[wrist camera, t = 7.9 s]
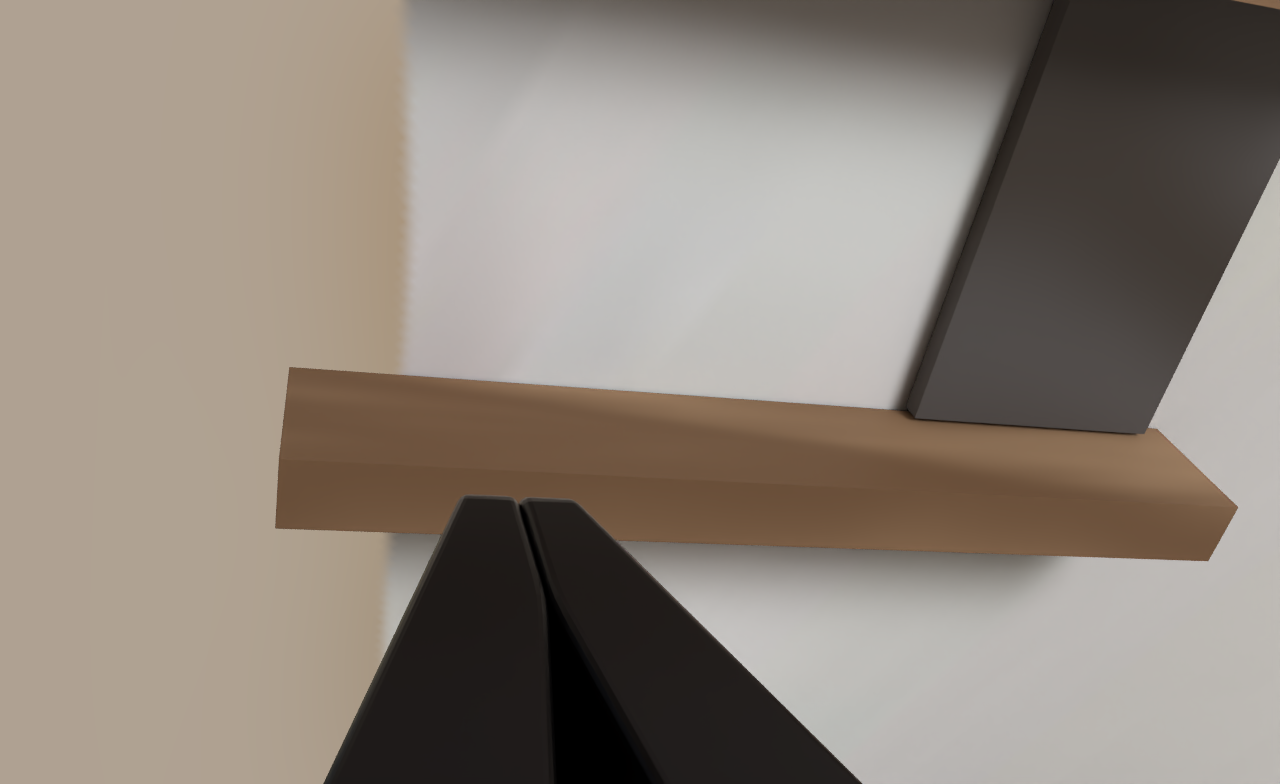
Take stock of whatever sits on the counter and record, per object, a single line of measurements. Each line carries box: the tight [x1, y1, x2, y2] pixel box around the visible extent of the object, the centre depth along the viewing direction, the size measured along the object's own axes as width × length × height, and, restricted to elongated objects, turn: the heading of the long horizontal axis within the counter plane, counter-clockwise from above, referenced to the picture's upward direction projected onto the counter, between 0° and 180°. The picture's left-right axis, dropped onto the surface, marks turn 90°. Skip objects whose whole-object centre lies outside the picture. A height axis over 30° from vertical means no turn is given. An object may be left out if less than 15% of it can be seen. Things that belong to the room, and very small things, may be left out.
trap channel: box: [275, 0, 1280, 561], centre depth 17 cm, size 10×16×2 cm, turn 79°
